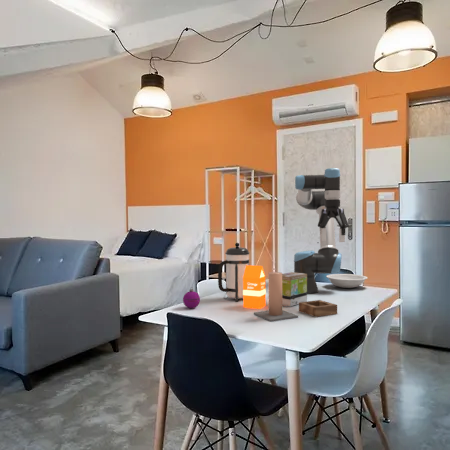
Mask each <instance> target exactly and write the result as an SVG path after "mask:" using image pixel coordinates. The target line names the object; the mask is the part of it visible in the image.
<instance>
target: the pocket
mask: <svg viewBox="0 0 450 450" xmlns="http://www.w3.org/2000/svg"><path fill="white" fill-rule="evenodd" d="M298 312H301V313H303V314H305V315H308V316H312V317H314V318H318V317H319V318H320V317H327V316H332V315H338V304H335V303H332V302H328V301H325V300H321V299H317V300H316V299H315V300H310V301H309V300H307V302H300V303H299V304H298Z"/></svg>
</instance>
